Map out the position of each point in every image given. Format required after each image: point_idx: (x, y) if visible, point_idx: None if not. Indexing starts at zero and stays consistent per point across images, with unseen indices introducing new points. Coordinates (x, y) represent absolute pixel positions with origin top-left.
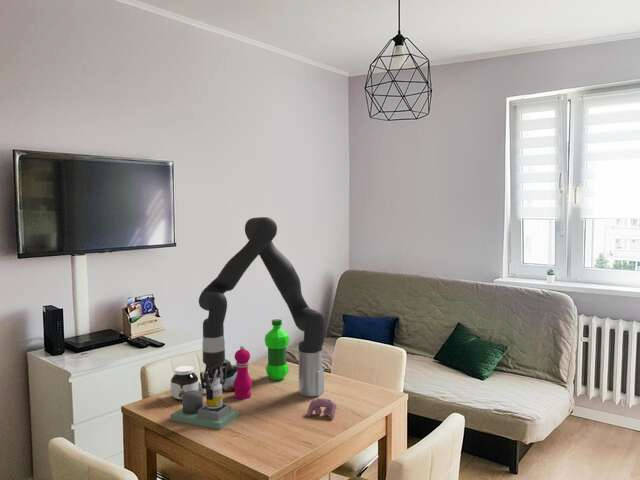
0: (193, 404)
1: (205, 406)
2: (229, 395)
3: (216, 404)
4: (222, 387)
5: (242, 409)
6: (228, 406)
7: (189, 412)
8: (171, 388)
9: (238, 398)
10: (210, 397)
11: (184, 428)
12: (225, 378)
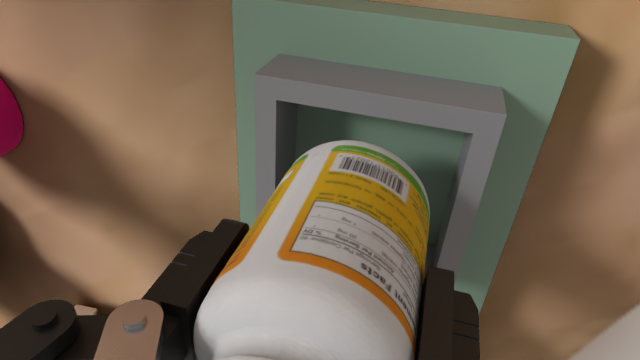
0: None
1: None
2: (20, 184)
3: (411, 190)
4: (175, 257)
5: (137, 11)
6: (301, 81)
7: None
8: None
9: (20, 115)
10: (459, 302)
11: (564, 284)
12: (55, 313)
